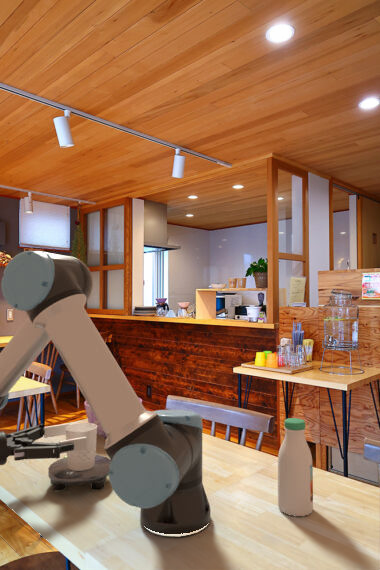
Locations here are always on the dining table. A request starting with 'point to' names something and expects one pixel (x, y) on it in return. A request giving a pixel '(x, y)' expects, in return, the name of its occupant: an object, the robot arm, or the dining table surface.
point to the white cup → (83, 457)
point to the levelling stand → (79, 474)
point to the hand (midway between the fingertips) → (77, 435)
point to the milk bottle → (295, 471)
